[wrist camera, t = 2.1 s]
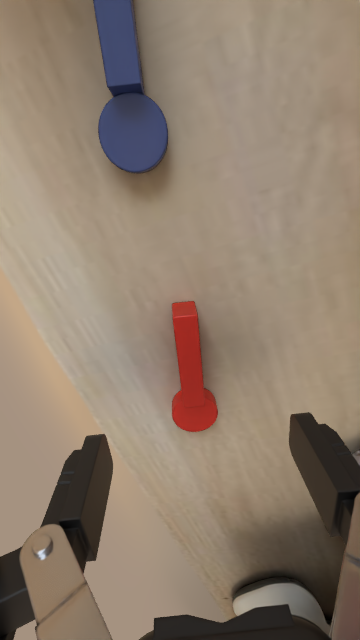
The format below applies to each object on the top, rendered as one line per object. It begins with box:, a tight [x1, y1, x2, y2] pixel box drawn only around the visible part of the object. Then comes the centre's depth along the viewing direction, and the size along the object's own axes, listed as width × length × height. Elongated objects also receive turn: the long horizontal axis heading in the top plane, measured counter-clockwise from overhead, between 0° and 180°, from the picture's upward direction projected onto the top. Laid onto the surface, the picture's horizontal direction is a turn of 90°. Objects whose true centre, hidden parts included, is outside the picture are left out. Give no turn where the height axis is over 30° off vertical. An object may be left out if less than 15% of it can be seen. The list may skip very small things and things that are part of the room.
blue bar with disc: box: [93, 0, 168, 173], centre depth 12 cm, size 10×3×2 cm, turn 6°
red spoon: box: [172, 301, 218, 432], centre depth 19 cm, size 10×3×2 cm, turn 6°
